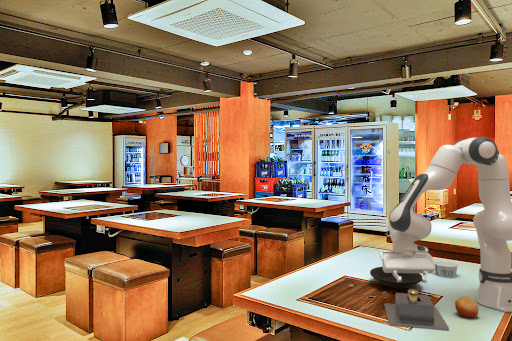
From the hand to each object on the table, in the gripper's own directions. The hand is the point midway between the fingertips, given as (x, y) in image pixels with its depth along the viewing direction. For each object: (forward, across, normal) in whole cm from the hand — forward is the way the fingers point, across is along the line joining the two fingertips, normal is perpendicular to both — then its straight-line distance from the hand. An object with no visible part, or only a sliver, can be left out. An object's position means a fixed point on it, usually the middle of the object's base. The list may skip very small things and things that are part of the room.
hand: (412, 281), depth 149 cm
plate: (-16, +2, +34) cm, 38 cm away
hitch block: (+12, 0, +6) cm, 13 cm away
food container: (-30, +33, +49) cm, 66 cm away
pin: (+11, -1, +6) cm, 12 cm away
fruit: (+9, +20, +9) cm, 24 cm away
